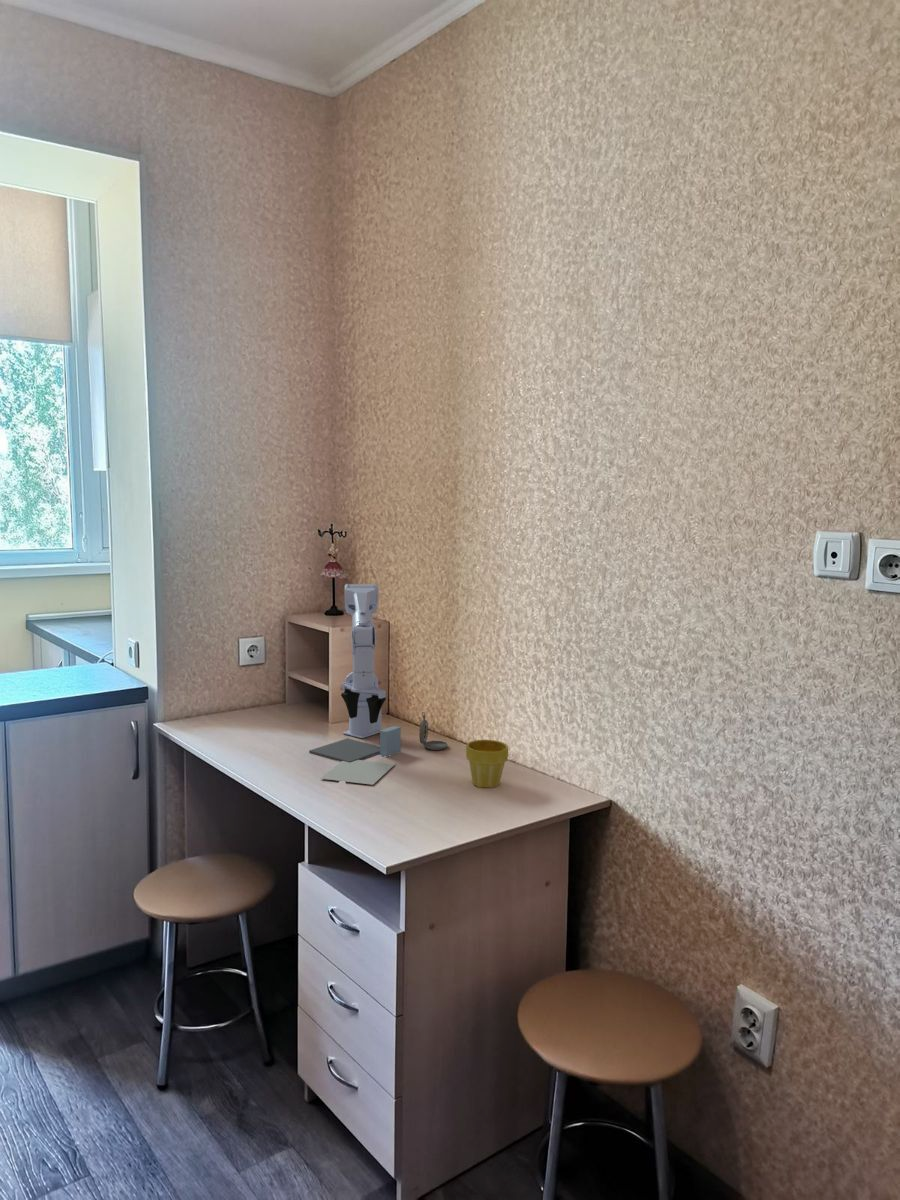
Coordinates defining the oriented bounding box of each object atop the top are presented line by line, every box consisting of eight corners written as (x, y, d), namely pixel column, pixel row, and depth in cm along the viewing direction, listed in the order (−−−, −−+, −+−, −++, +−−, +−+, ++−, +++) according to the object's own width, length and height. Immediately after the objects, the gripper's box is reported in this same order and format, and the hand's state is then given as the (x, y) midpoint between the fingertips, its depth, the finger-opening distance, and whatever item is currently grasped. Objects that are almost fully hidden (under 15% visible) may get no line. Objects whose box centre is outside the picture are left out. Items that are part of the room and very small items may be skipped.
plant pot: (514, 781, 215) (515, 743, 214) (495, 793, 206) (496, 754, 205) (478, 774, 220) (478, 736, 219) (457, 785, 212) (458, 747, 210)
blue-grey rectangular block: (394, 750, 239) (394, 725, 238) (400, 751, 238) (400, 727, 237) (379, 755, 234) (380, 730, 233) (386, 757, 233) (386, 732, 232)
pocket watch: (451, 749, 240) (451, 714, 239) (422, 752, 237) (423, 717, 236) (440, 741, 248) (441, 707, 247) (412, 744, 245) (413, 709, 243)
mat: (347, 740, 248) (347, 738, 248) (387, 750, 239) (387, 748, 239) (309, 752, 236) (309, 750, 236) (349, 763, 227) (349, 761, 227)
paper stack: (429, 770, 224) (430, 767, 224) (398, 803, 200) (398, 800, 200) (345, 760, 230) (345, 758, 230) (305, 792, 206) (305, 789, 206)
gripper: (333, 669, 233) (333, 718, 235) (372, 677, 224) (372, 728, 226) (352, 665, 239) (352, 713, 241) (391, 672, 230) (390, 722, 232)
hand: (363, 720), depth 234 cm, fingers open, 7 cm apart
